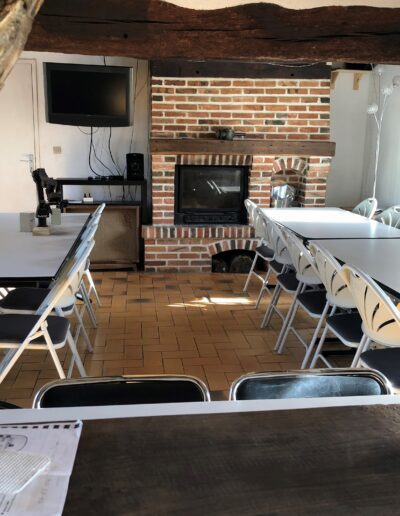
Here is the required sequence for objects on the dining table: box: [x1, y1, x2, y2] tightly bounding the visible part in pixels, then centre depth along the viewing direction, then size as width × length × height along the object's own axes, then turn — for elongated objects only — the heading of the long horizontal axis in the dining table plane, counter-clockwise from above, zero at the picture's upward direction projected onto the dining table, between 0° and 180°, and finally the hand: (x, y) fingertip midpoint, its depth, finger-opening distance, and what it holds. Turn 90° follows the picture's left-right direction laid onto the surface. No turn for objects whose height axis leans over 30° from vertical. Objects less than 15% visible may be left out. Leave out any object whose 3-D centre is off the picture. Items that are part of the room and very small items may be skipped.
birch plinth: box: [32, 226, 51, 237], centre depth 346 cm, size 10×10×4 cm
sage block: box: [50, 207, 62, 226], centre depth 345 cm, size 5×5×10 cm
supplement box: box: [19, 211, 36, 233], centre depth 355 cm, size 7×7×13 cm
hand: (56, 214), depth 343 cm, fingers closed on sage block, 5 cm apart
